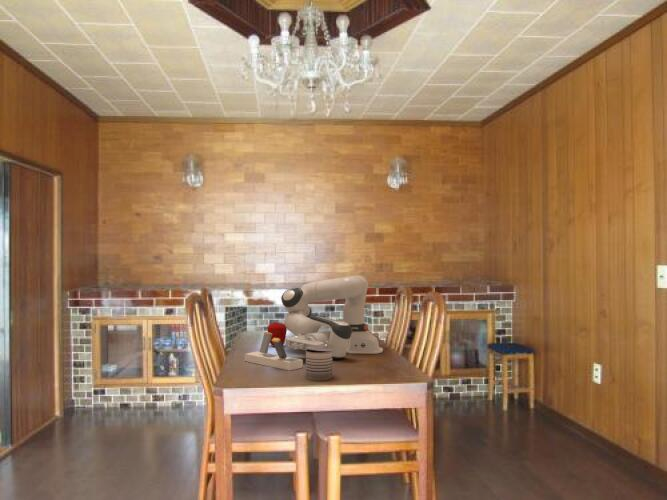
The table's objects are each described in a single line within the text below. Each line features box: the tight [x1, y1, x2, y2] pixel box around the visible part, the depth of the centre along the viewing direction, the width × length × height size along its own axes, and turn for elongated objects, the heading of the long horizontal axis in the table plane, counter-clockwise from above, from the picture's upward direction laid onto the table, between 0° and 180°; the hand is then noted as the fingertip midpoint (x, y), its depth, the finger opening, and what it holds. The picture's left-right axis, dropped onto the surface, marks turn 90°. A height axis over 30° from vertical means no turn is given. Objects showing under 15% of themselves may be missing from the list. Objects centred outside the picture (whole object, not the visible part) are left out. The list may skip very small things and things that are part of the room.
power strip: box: [244, 350, 304, 372], centre depth 241 cm, size 8×30×4 cm, turn 50°
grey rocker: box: [258, 331, 272, 354], centre depth 247 cm, size 2×4×10 cm, turn 50°
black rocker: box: [272, 338, 288, 359], centre depth 235 cm, size 2×4×10 cm, turn 50°
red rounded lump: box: [266, 321, 288, 347], centre depth 288 cm, size 10×10×14 cm
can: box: [305, 347, 333, 381], centre depth 218 cm, size 11×11×12 cm
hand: (293, 347), depth 242 cm, fingers closed
